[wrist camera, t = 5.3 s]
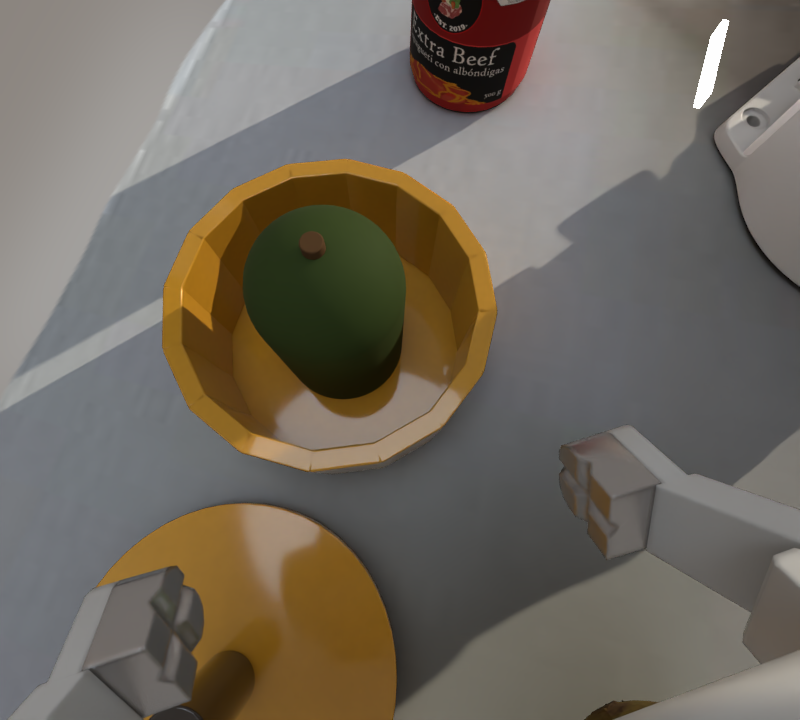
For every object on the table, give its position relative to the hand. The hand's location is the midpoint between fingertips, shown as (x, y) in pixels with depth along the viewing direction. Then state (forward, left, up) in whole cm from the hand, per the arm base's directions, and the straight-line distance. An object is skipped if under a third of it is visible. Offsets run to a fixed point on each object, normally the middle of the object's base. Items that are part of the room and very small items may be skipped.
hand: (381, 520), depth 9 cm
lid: (+10, -1, -13) cm, 16 cm away
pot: (-5, -7, -13) cm, 16 cm away
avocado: (-5, -7, -13) cm, 16 cm away
